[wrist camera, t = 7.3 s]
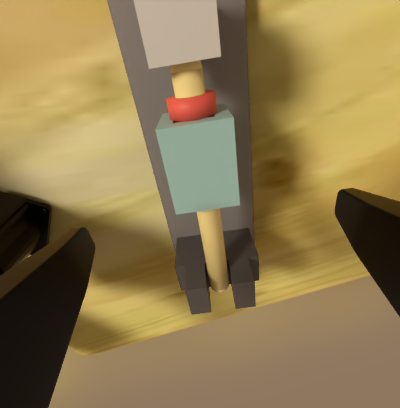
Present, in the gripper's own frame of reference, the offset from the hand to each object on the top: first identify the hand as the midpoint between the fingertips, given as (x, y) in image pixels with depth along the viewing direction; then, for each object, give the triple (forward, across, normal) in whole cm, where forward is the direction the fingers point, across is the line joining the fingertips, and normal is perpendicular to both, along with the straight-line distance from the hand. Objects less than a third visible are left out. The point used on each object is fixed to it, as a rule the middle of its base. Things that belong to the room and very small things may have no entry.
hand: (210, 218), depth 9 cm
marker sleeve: (+9, 0, 0) cm, 9 cm away
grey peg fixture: (+12, 0, +2) cm, 13 cm away
